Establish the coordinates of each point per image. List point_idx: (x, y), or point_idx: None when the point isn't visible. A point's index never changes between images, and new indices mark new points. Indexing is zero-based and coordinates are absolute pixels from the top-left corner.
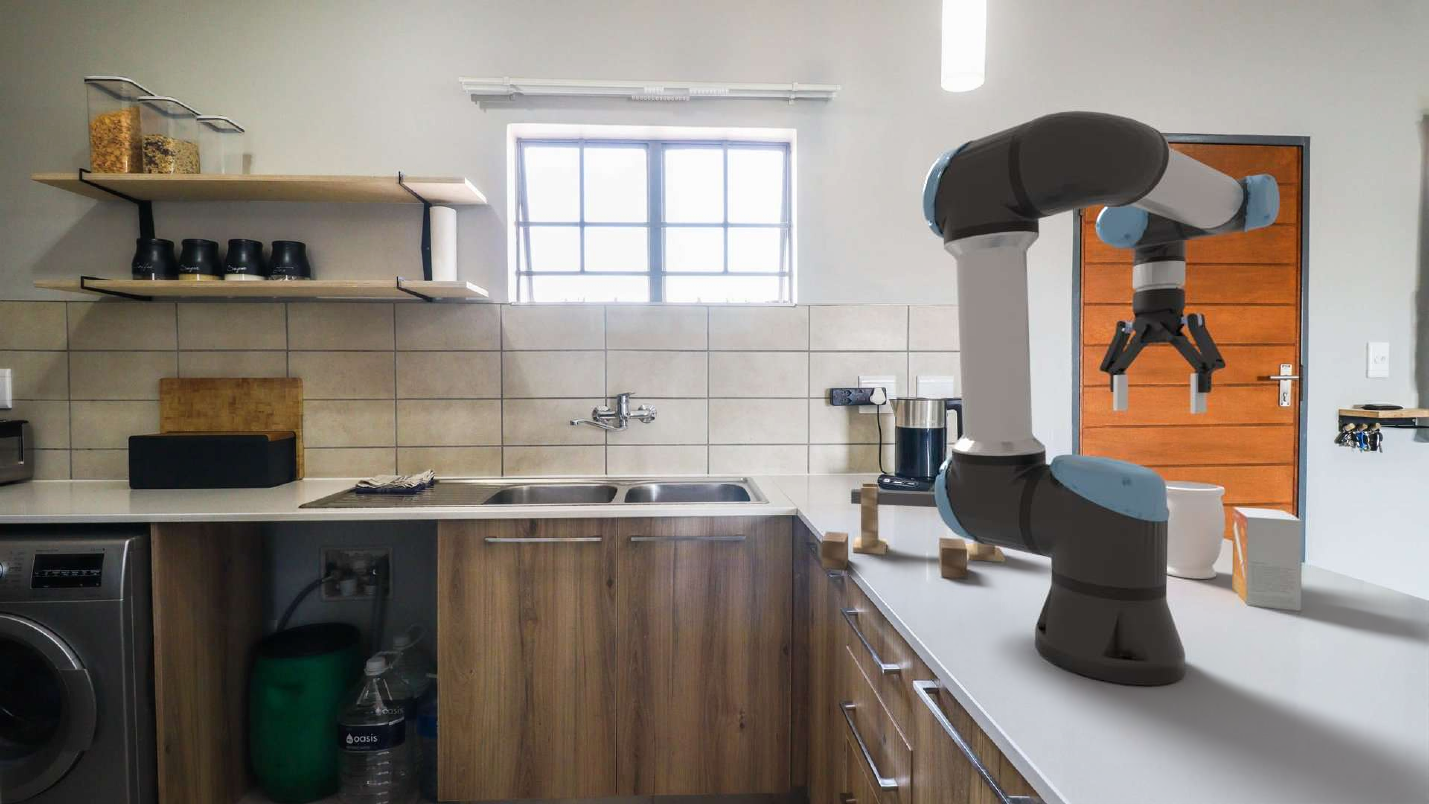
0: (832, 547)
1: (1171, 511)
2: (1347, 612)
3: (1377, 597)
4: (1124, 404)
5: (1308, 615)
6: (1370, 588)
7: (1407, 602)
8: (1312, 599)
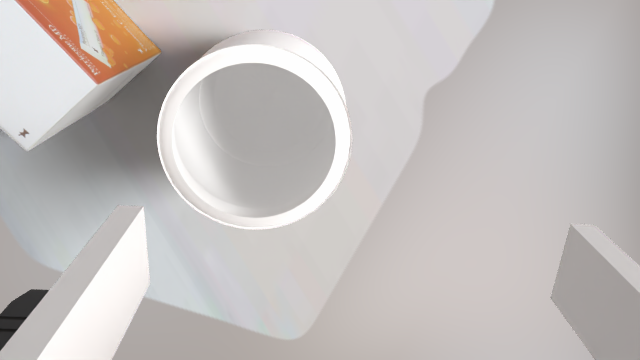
0: None
1: (242, 38)
2: None
3: (55, 224)
4: (572, 296)
5: None
6: None
7: (24, 234)
8: None
